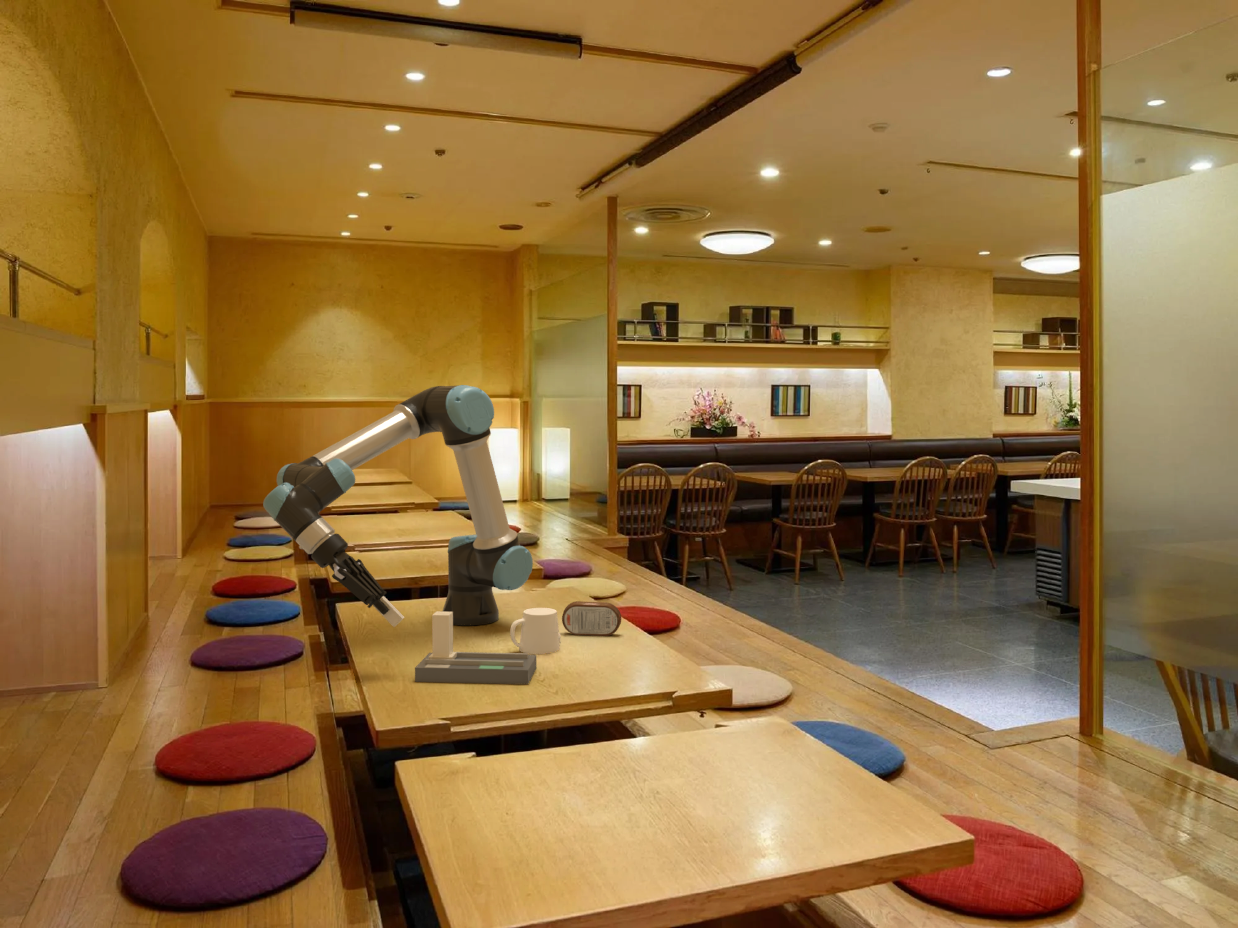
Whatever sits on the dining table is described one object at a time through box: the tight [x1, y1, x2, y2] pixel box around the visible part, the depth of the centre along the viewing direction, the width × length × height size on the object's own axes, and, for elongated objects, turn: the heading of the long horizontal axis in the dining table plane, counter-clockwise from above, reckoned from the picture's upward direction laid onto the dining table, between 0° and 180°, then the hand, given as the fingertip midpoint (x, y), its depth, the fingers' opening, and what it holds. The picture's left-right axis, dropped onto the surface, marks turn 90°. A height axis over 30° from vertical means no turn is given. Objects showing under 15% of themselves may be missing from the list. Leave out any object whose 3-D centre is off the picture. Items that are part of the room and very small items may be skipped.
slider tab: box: [429, 610, 458, 659], centre depth 205 cm, size 4×5×10 cm
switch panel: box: [414, 651, 537, 685], centre depth 205 cm, size 12×24×4 cm, turn 87°
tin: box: [561, 600, 622, 637], centre depth 241 cm, size 15×3×8 cm, turn 84°
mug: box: [509, 607, 562, 655], centre depth 225 cm, size 12×9×8 cm
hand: (399, 622), depth 205 cm, fingers closed
